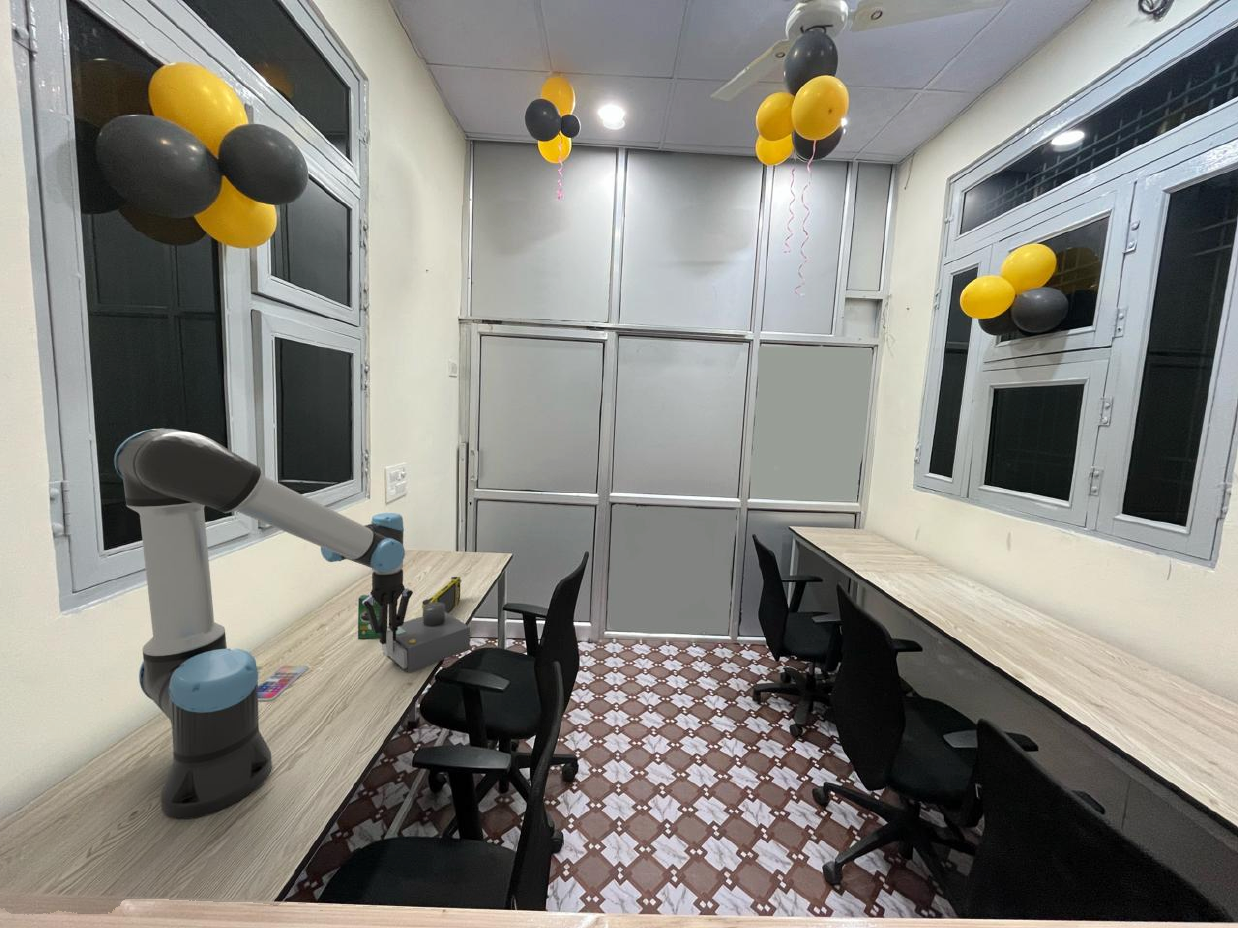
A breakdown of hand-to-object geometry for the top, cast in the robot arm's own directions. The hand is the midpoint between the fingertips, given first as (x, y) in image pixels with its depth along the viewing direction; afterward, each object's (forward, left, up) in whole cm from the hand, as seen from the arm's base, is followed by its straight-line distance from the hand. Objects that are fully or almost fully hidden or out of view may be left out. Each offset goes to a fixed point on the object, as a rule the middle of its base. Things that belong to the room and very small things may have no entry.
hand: (387, 653), depth 124 cm
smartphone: (-23, +10, -4) cm, 25 cm away
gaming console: (+26, +19, -4) cm, 33 cm away
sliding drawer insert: (+10, 0, -2) cm, 10 cm away
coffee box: (+3, +19, -4) cm, 20 cm away
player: (+11, 0, -3) cm, 12 cm away
